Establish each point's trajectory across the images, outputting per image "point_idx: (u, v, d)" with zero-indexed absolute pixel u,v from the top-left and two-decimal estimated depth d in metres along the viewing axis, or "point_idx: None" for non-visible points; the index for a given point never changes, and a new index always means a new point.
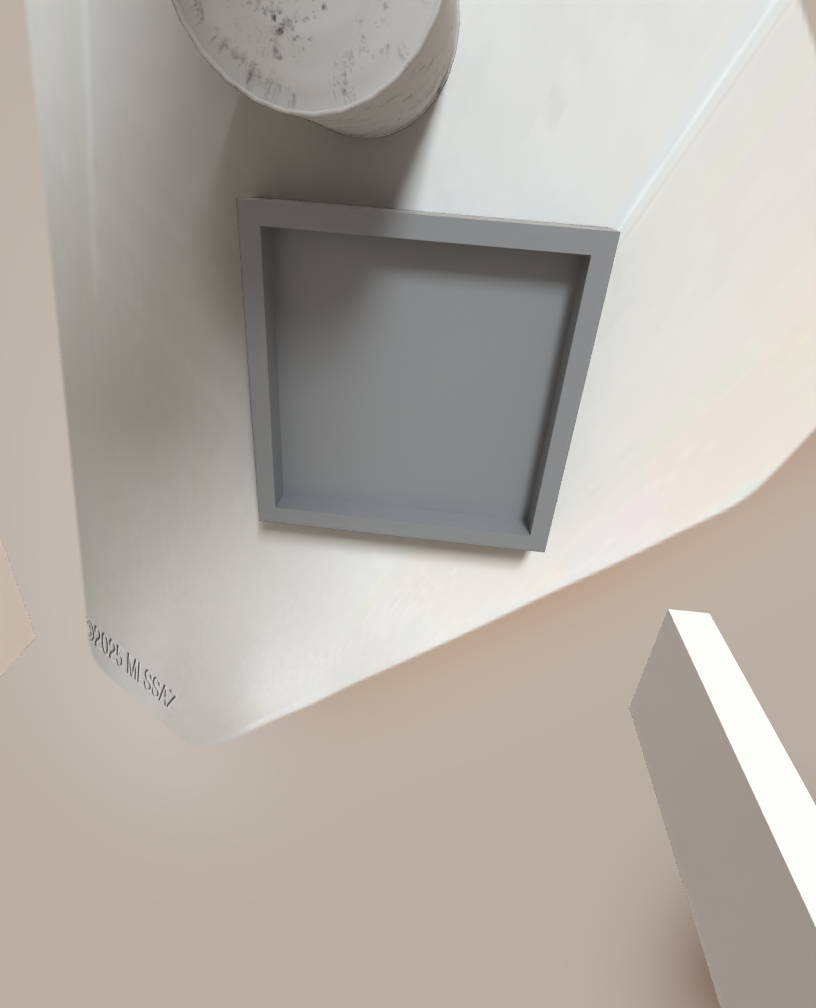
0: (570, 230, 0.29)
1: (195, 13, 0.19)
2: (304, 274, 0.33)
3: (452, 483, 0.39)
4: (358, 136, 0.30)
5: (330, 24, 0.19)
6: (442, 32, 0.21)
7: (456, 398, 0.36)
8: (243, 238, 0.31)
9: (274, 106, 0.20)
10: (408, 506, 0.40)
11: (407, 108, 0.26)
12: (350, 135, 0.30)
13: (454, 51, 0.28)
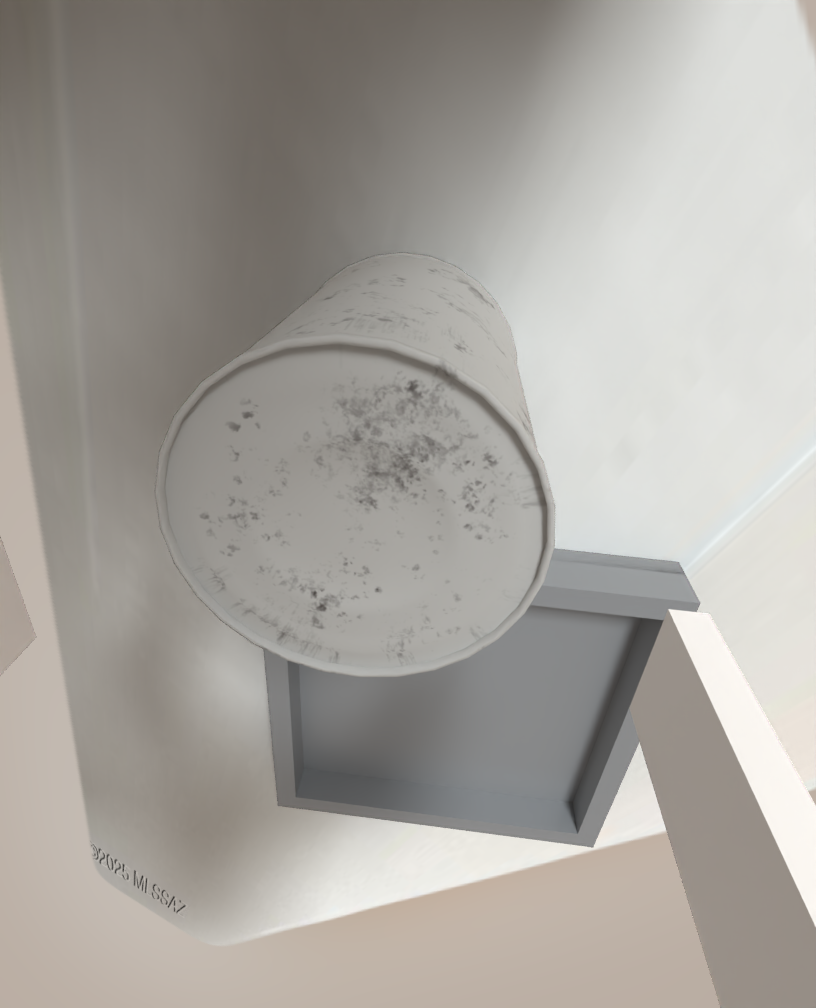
0: (641, 599, 0.25)
1: (215, 584, 0.15)
2: None
3: (490, 769, 0.35)
4: None
5: (385, 603, 0.15)
6: None
7: (499, 703, 0.32)
8: None
9: (312, 666, 0.16)
10: (441, 785, 0.37)
11: None
12: None
13: None
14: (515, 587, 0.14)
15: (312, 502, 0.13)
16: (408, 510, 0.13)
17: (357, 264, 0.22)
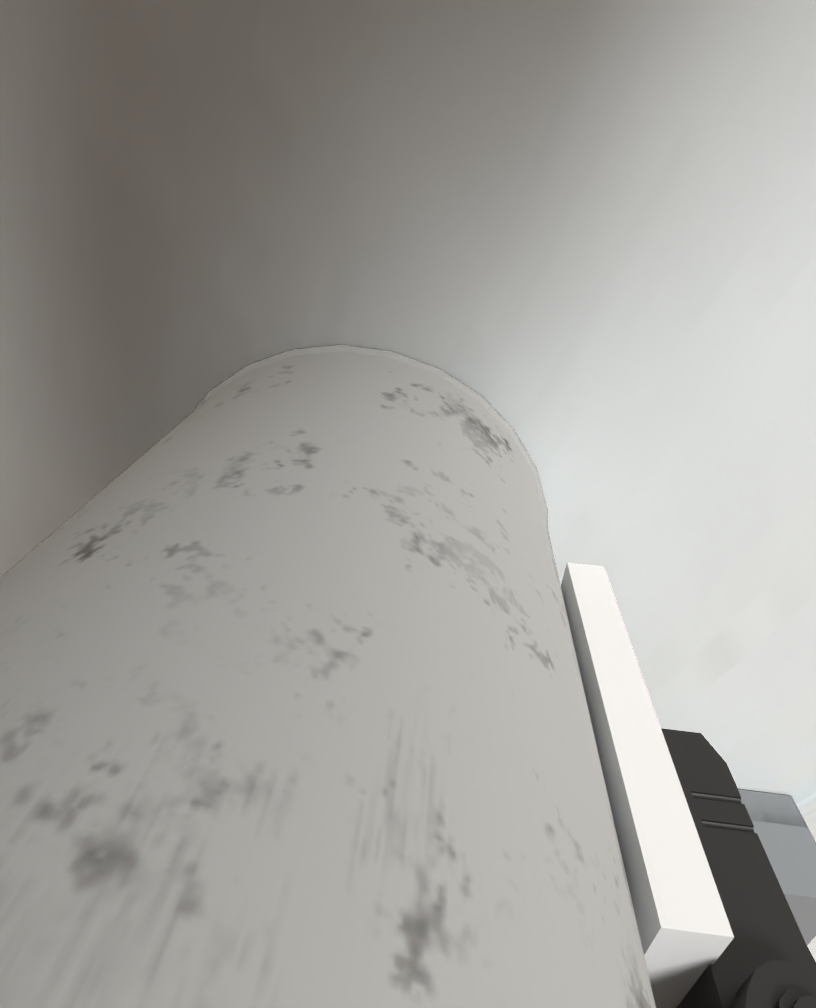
0: None
1: None
2: None
3: None
4: None
5: None
6: None
7: None
8: None
9: None
10: None
11: None
12: None
13: None
14: None
15: None
16: None
17: (262, 364, 0.12)
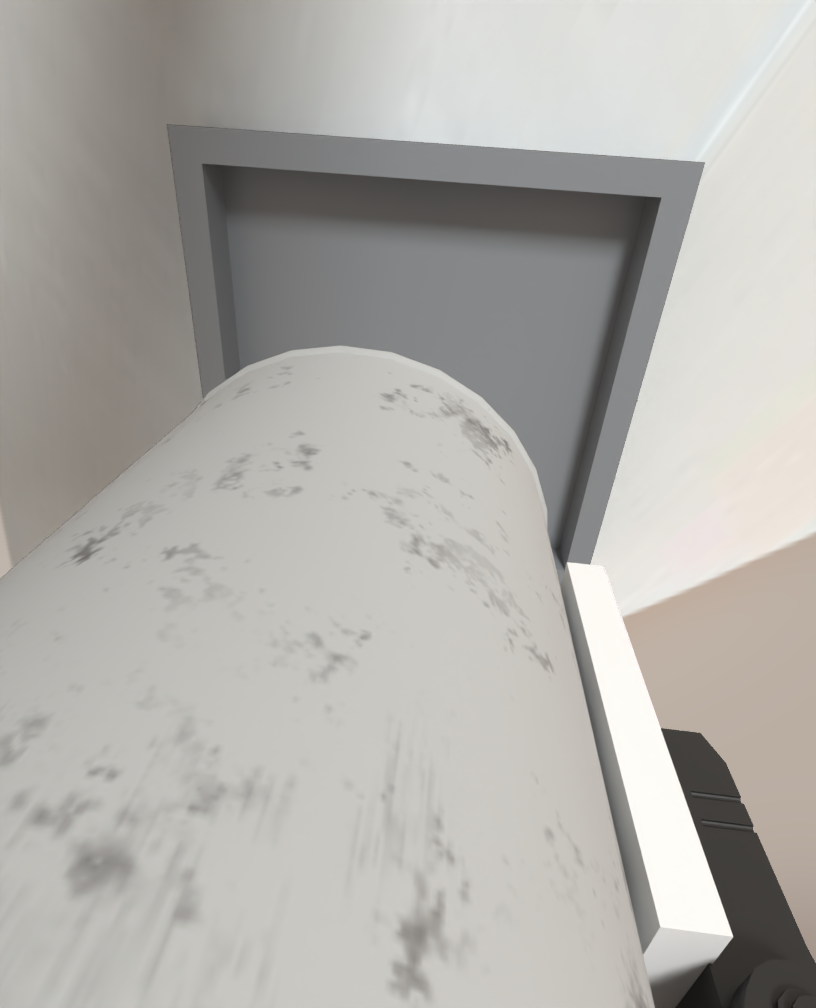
0: (633, 162, 0.21)
1: None
2: (269, 234, 0.25)
3: None
4: None
5: None
6: None
7: None
8: (181, 181, 0.22)
9: None
10: None
11: None
12: None
13: None
14: None
15: None
16: None
17: (261, 365, 0.12)
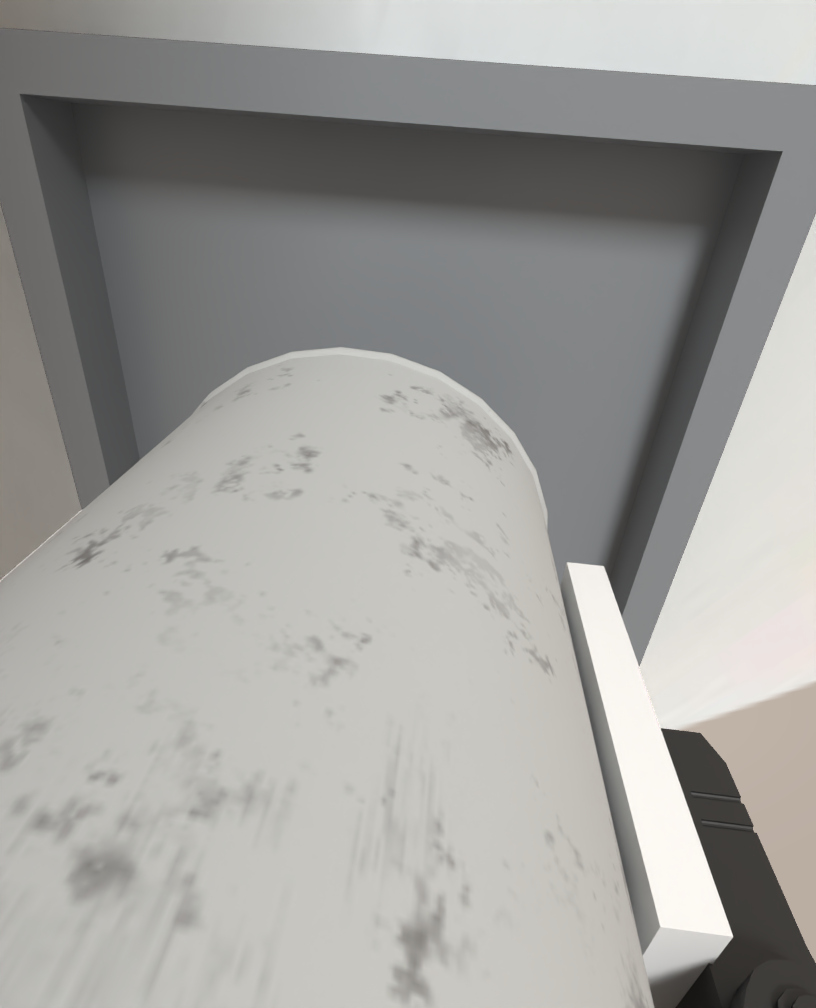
0: (739, 89, 0.12)
1: None
2: (154, 216, 0.16)
3: None
4: None
5: None
6: None
7: None
8: None
9: None
10: None
11: None
12: None
13: None
14: None
15: None
16: None
17: (261, 367, 0.12)
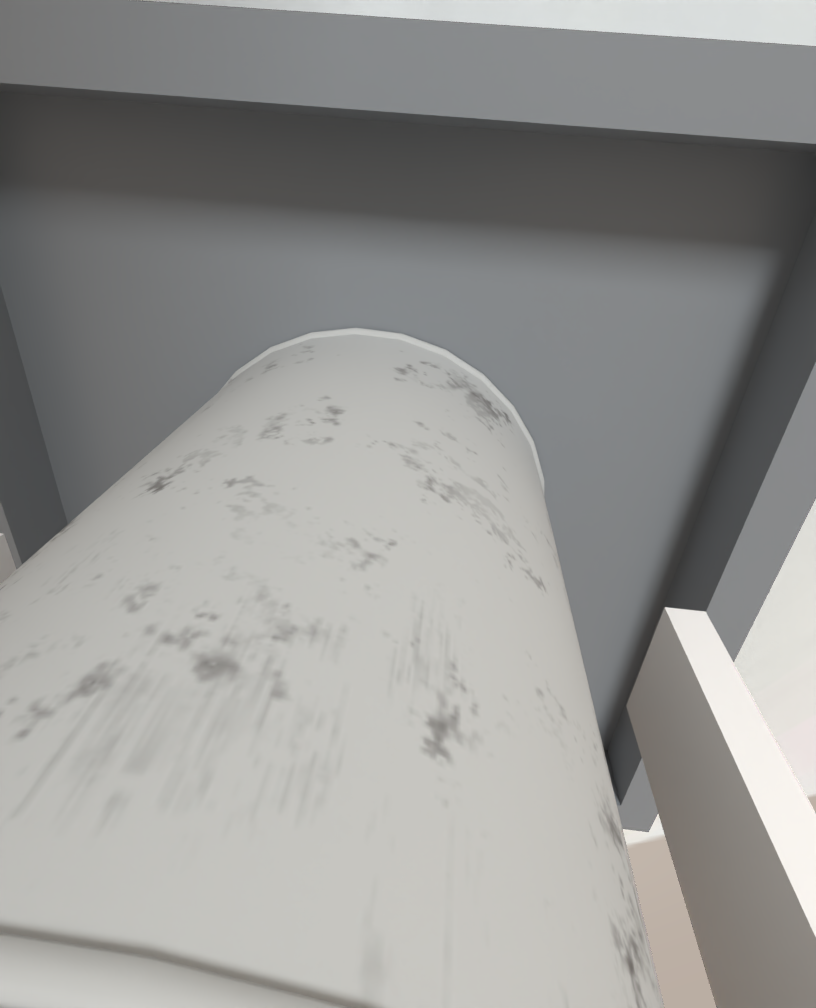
0: None
1: None
2: (64, 234, 0.13)
3: None
4: None
5: None
6: None
7: None
8: None
9: None
10: None
11: None
12: None
13: None
14: None
15: None
16: None
17: (284, 346, 0.13)
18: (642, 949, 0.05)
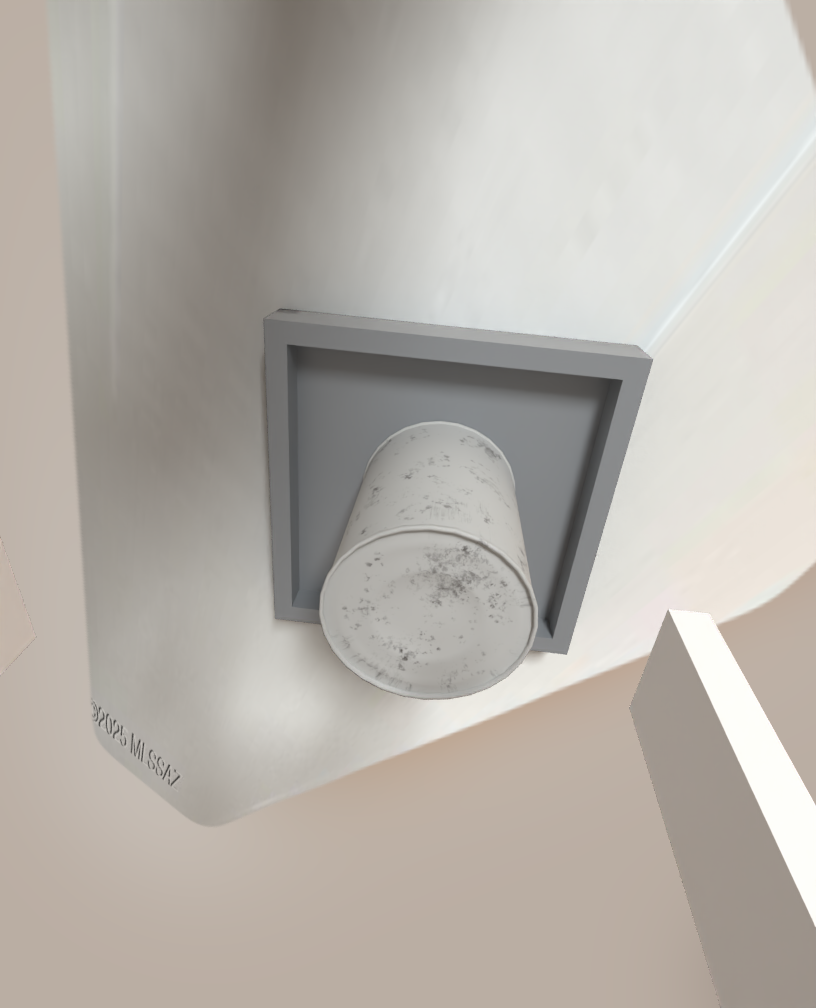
0: (602, 357, 0.29)
1: (343, 644, 0.26)
2: (329, 384, 0.33)
3: None
4: None
5: (442, 656, 0.26)
6: None
7: None
8: (269, 355, 0.30)
9: (396, 693, 0.27)
10: None
11: None
12: None
13: None
14: (516, 648, 0.25)
15: (406, 601, 0.25)
16: (458, 606, 0.24)
17: (411, 427, 0.33)
18: (525, 566, 0.25)
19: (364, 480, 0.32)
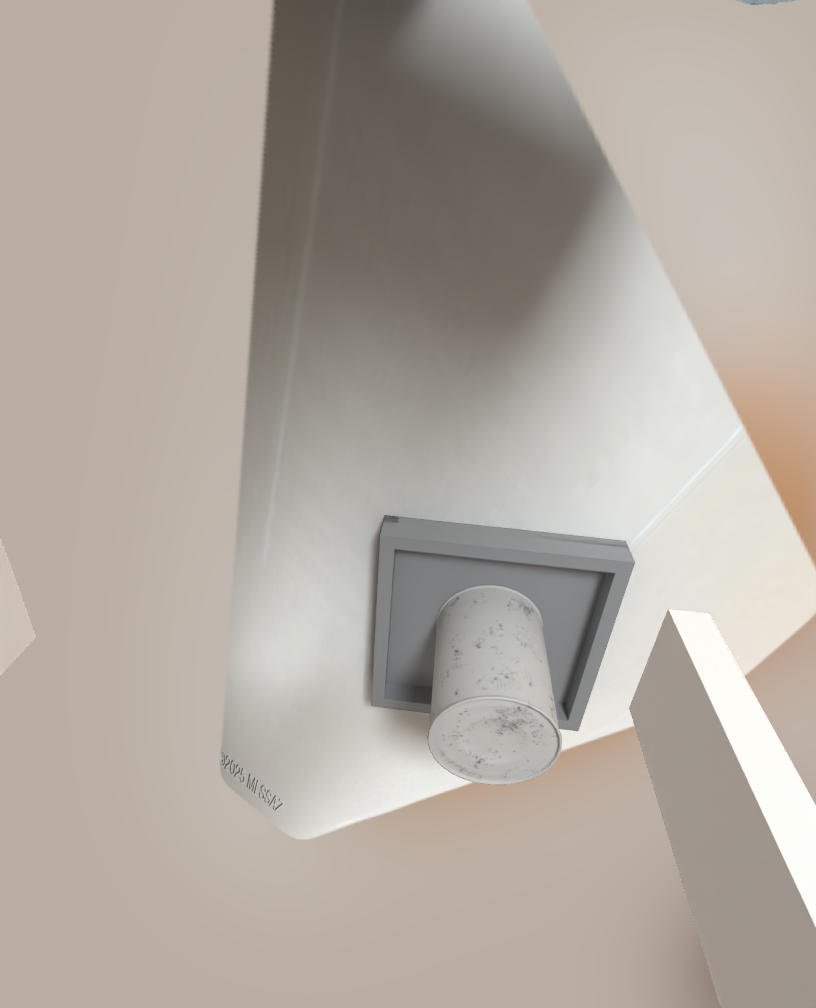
0: (601, 560, 0.44)
1: (440, 753, 0.42)
2: (416, 562, 0.48)
3: None
4: None
5: (501, 761, 0.42)
6: None
7: None
8: (382, 554, 0.46)
9: (472, 781, 0.43)
10: None
11: None
12: None
13: None
14: (548, 757, 0.41)
15: (481, 732, 0.41)
16: (513, 736, 0.40)
17: (472, 589, 0.49)
18: (553, 710, 0.40)
19: (442, 630, 0.48)
